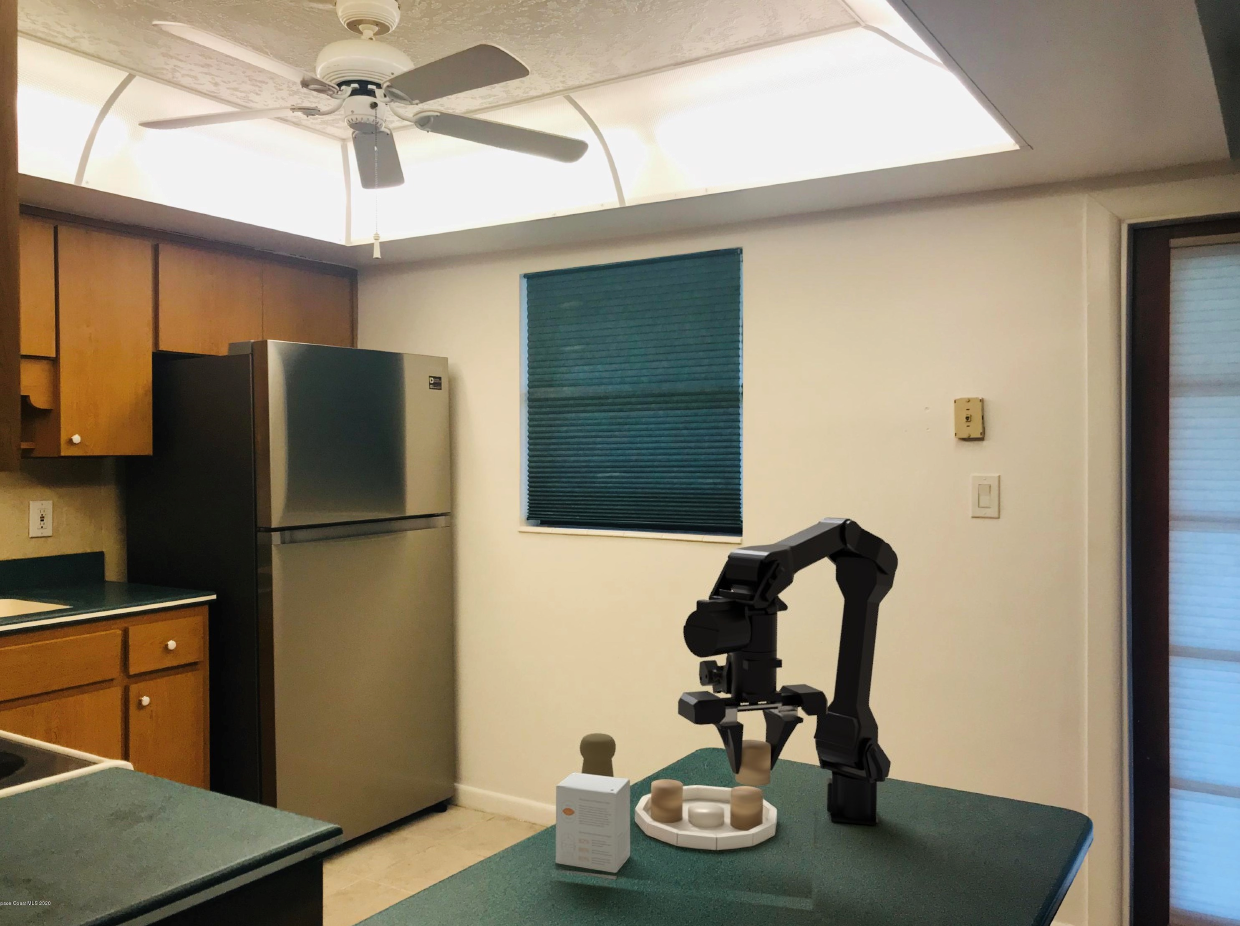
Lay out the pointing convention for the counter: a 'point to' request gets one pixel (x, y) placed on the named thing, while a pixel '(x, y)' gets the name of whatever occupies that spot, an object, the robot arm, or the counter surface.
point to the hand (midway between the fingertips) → (752, 771)
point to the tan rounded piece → (746, 807)
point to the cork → (597, 754)
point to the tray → (705, 834)
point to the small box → (593, 823)
